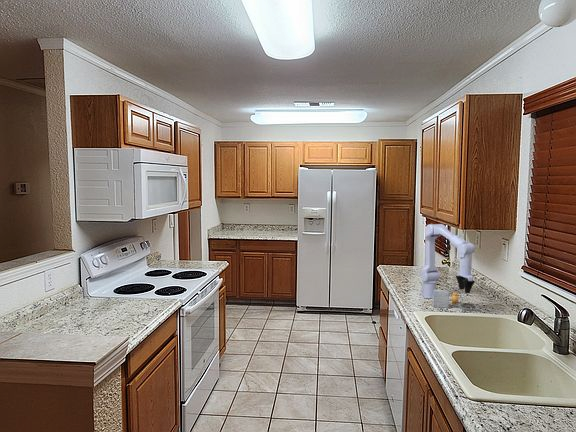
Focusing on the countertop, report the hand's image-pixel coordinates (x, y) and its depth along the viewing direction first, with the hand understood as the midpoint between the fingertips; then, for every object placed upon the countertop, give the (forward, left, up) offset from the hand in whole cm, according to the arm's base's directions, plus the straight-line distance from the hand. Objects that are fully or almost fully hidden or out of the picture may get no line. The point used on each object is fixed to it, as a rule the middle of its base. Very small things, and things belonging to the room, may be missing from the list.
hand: (464, 291), depth 206 cm
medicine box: (-6, -10, -11) cm, 16 cm away
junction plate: (-5, +4, -10) cm, 12 cm away
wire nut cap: (-13, 0, -10) cm, 16 cm away
